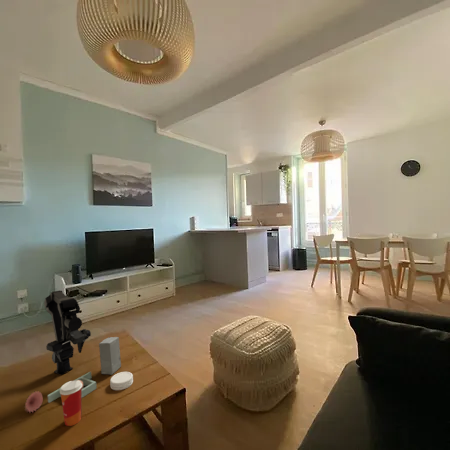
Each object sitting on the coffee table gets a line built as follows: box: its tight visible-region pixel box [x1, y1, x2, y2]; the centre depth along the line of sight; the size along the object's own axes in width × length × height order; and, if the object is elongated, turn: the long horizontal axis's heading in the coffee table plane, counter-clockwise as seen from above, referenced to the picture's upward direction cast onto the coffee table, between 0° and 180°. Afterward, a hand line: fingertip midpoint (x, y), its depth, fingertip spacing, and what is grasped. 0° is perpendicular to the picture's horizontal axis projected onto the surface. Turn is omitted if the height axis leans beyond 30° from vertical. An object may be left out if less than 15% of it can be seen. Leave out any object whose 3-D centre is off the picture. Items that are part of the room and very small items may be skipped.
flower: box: [24, 390, 44, 414], centre depth 114 cm, size 8×8×6 cm
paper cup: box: [60, 379, 82, 427], centre depth 106 cm, size 8×8×14 cm
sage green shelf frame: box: [47, 371, 97, 403], centre depth 124 cm, size 11×20×3 cm, turn 151°
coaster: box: [109, 371, 134, 391], centre depth 129 cm, size 10×10×4 cm
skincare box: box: [98, 336, 122, 376], centre depth 141 cm, size 8×7×16 cm
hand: (70, 357), depth 132 cm, fingers open, 9 cm apart
